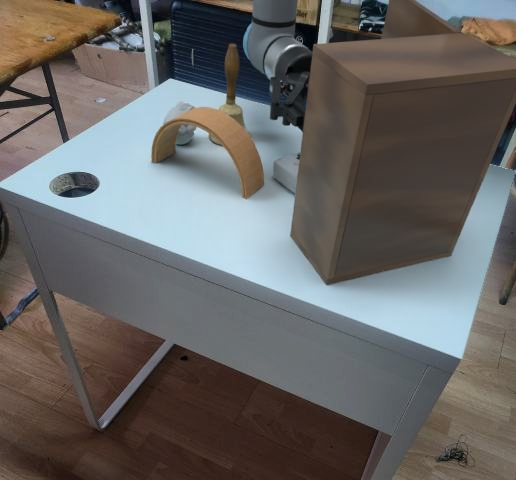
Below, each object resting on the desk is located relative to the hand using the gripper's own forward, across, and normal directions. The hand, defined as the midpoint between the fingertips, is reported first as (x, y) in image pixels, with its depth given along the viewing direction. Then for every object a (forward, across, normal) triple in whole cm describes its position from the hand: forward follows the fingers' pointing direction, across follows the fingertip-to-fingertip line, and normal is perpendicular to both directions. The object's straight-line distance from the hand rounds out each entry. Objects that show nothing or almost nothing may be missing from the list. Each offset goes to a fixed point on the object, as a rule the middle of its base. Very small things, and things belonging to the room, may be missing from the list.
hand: (358, 125), depth 70 cm
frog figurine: (-30, +18, -14) cm, 38 cm away
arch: (-18, +17, -14) cm, 29 cm away
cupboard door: (-7, -15, -14) cm, 22 cm away
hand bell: (-30, +8, -14) cm, 34 cm away
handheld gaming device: (-10, -2, -14) cm, 18 cm away
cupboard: (+9, 0, -14) cm, 17 cm away
